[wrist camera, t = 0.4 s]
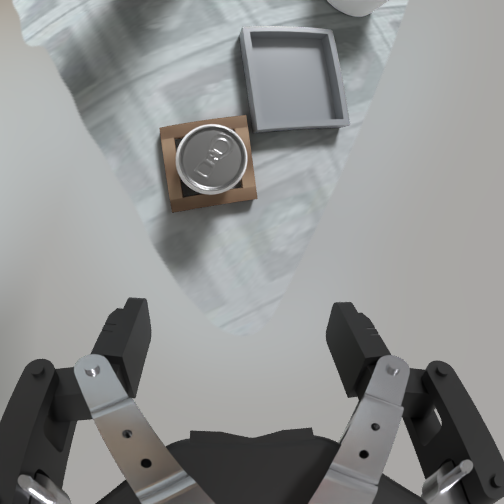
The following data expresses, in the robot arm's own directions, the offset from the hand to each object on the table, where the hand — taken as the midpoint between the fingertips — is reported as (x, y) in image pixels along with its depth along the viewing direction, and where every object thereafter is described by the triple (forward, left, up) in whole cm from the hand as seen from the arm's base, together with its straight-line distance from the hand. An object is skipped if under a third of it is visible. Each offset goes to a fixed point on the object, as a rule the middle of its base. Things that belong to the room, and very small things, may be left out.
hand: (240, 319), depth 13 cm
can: (-7, +1, -26) cm, 27 cm away
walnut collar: (-7, +1, -26) cm, 27 cm away
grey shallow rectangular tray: (-17, +13, -26) cm, 34 cm away
